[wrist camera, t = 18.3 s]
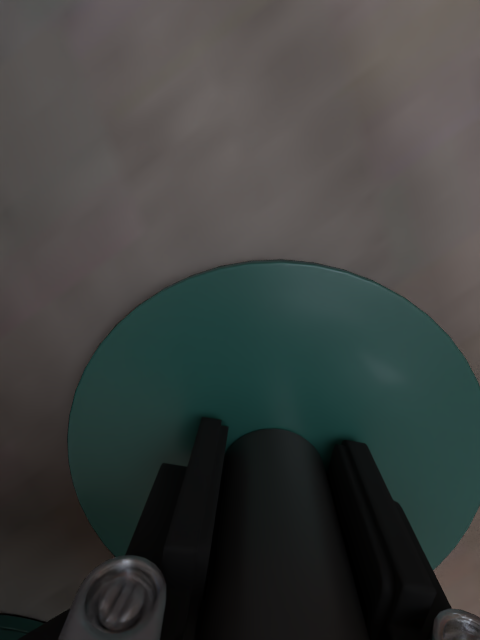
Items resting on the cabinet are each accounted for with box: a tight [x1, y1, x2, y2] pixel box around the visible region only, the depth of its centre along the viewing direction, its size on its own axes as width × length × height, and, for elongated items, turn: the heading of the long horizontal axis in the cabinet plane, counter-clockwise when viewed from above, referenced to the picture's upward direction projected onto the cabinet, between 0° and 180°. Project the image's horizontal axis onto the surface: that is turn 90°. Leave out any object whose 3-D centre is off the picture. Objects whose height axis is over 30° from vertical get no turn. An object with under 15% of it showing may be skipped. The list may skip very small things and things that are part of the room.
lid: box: [67, 260, 480, 640], centre depth 8 cm, size 11×11×7 cm
